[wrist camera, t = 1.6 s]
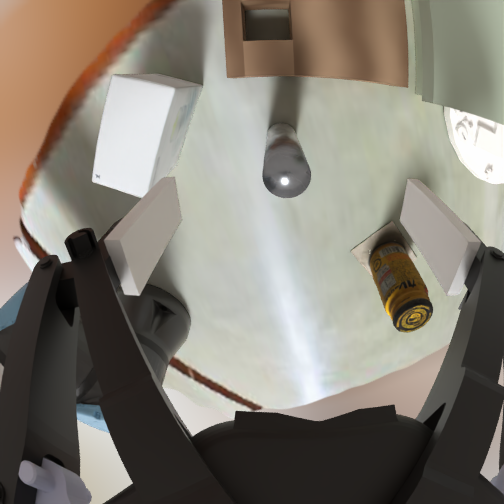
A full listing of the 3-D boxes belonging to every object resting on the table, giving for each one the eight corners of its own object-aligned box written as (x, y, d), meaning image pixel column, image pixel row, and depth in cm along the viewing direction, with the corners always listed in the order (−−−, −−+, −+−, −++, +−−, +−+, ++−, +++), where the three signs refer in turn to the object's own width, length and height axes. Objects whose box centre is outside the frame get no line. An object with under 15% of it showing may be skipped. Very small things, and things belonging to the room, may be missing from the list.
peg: (267, 150, 31) (263, 198, 19) (266, 123, 29) (261, 152, 17) (295, 149, 30) (310, 198, 19) (295, 122, 29) (311, 153, 17)
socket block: (232, 78, 26) (227, 77, 23) (227, -15, 19) (220, -27, 16) (393, 85, 25) (408, 87, 21) (388, -5, 18) (402, -13, 15)
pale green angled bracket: (343, 87, 26) (433, 103, 10) (337, -21, 18) (401, -102, 2) (428, 101, 25) (548, 145, 9) (424, -1, 17) (533, -27, 1)
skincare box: (179, 166, 33) (145, 202, 24) (133, 151, 32) (88, 182, 23) (206, 85, 27) (176, 88, 18) (155, 72, 26) (108, 73, 17)
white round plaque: (416, 123, 27) (426, 127, 25) (469, 17, 16) (482, 15, 14) (496, 201, 31) (506, 209, 28) (542, 110, 20) (553, 115, 17)
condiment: (378, 284, 40) (400, 345, 31) (350, 250, 38) (371, 314, 28) (416, 257, 37) (448, 314, 27) (391, 219, 34) (428, 276, 24)
